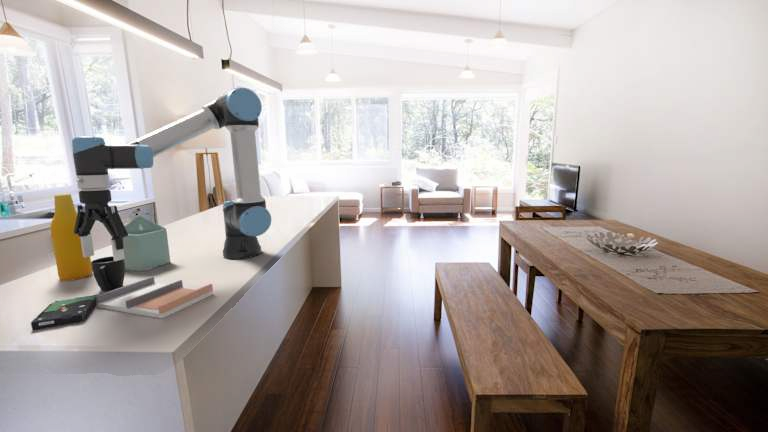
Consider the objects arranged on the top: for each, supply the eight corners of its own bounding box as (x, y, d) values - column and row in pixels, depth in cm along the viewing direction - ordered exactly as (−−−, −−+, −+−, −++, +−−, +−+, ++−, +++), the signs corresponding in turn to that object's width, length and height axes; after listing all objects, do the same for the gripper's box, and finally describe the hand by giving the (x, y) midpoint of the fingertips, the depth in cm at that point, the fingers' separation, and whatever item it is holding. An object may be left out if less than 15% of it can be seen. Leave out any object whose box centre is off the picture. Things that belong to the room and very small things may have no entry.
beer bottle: (82, 271, 134) (69, 193, 129) (99, 273, 130) (86, 193, 126) (52, 279, 125) (37, 196, 120) (70, 282, 122) (55, 196, 117)
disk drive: (85, 323, 92) (99, 302, 105) (84, 313, 91) (98, 293, 104) (32, 333, 87) (53, 310, 100) (29, 322, 87) (51, 300, 100)
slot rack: (153, 286, 116) (152, 276, 116) (213, 294, 108) (212, 284, 108) (96, 307, 100) (95, 296, 100) (162, 318, 92) (160, 306, 92)
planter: (116, 274, 129) (107, 220, 125) (120, 268, 136) (112, 217, 132) (169, 267, 136) (162, 216, 133) (170, 262, 143) (164, 213, 140)
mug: (86, 299, 107) (81, 268, 105) (100, 285, 118) (96, 257, 116) (120, 294, 110) (115, 264, 108) (130, 282, 121) (126, 254, 119)
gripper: (52, 189, 109) (63, 257, 112) (110, 191, 101) (119, 265, 104) (80, 187, 116) (89, 252, 119) (136, 189, 108) (144, 258, 111)
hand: (103, 258), depth 112 cm, fingers open, 13 cm apart
